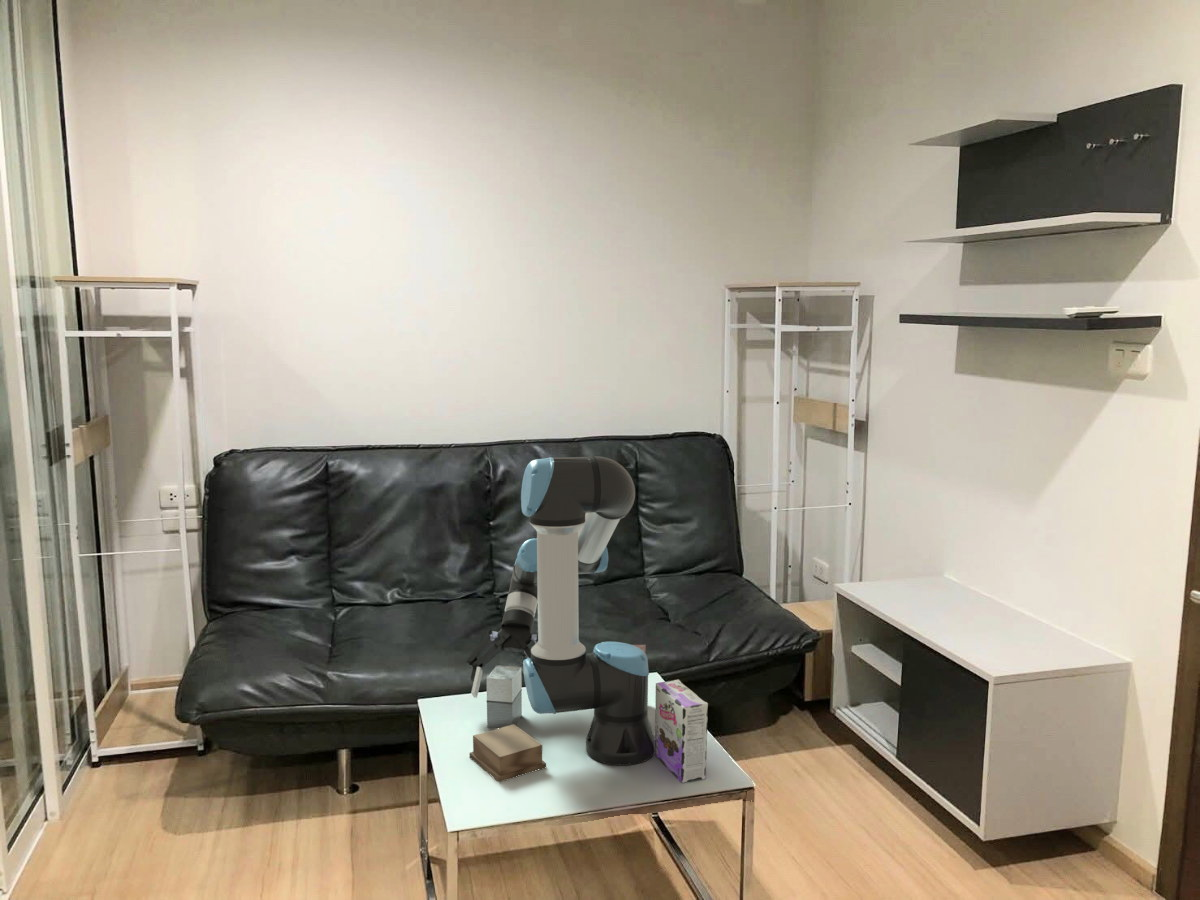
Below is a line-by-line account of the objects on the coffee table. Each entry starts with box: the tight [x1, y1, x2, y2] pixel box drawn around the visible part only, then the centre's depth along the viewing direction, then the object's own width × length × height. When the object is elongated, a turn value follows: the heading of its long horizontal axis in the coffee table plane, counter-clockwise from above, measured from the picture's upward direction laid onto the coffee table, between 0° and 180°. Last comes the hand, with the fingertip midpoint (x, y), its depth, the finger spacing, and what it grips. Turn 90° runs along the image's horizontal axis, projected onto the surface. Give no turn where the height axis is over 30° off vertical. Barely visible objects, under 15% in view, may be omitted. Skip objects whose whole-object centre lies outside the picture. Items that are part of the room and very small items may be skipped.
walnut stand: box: [469, 724, 547, 783], centre depth 202 cm, size 11×13×5 cm
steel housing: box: [486, 664, 523, 729], centre depth 222 cm, size 6×8×12 cm
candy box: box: [654, 679, 709, 784], centre depth 200 cm, size 14×6×16 cm, turn 21°
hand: (502, 697), depth 220 cm, fingers open, 13 cm apart
